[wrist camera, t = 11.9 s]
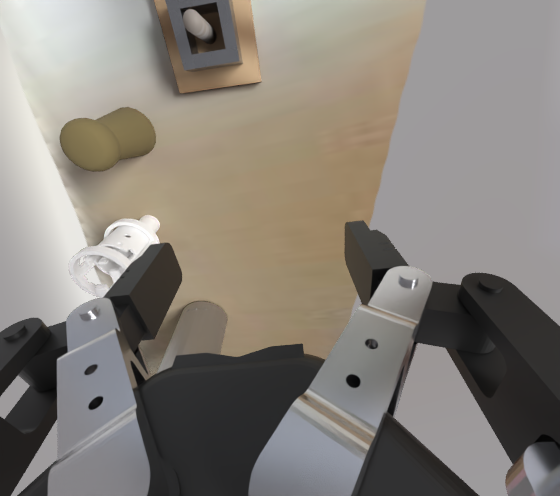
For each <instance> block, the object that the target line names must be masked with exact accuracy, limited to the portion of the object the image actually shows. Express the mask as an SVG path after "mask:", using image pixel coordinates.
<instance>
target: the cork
mask: <svg viewBox="0 0 560 496" xmlns="http://www.w3.org/2000/svg"><path fill="white" fill-rule="evenodd" d="M60 143H61V147H62V149H63V151H64V153H65V155H66V156H67V157H68V158H69V160H71V161H72V162H73V163H74V164H75V165H77V166H79V167H81V168H83V169H85V170H89V171H93V172H95V171H105V170H107V169H110V168H112V167H113V166H114V165H115V164H116V163H117V162H118V160H122V159H127V158H132V157H138V156H143V155H145V154H148V153H149V152H150V151H151V150H152V149H153V148H154V145H155V143H156V134H155V131H154V127H153V126H152V124H151V122H150V121H149V119H148V118H147V117H146V116H145V115H144V114H142V113H141V112H139V111H138V110H136V109H132V108H129V107H125V108H119V109H117V110H115V111H113V112H111V113H109V114H107V115H105V116H103V117H101V118H99V119H97V120H92V119H88V118H78V119H74V120H72V121H70V122H68V123H66V124H65V125H64V127H63V128H62V129H61V134H60Z"/></svg>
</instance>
